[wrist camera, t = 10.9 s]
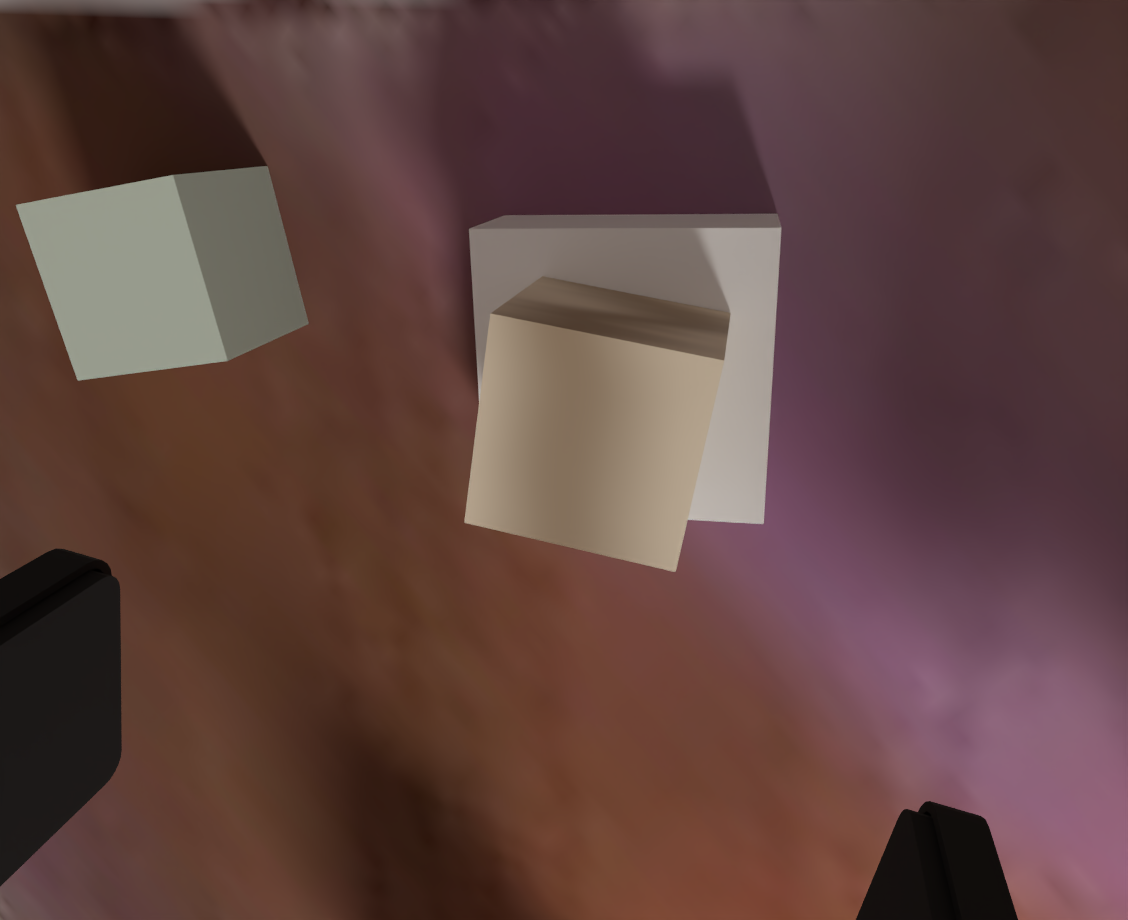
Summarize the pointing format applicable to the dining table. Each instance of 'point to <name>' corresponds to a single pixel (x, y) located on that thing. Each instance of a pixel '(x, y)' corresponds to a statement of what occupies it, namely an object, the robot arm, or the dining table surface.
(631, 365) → the maple cube
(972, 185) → the dining table surface
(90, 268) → the sage cube
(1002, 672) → the dining table surface
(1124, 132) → the dining table surface
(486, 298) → the base block
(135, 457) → the dining table surface
